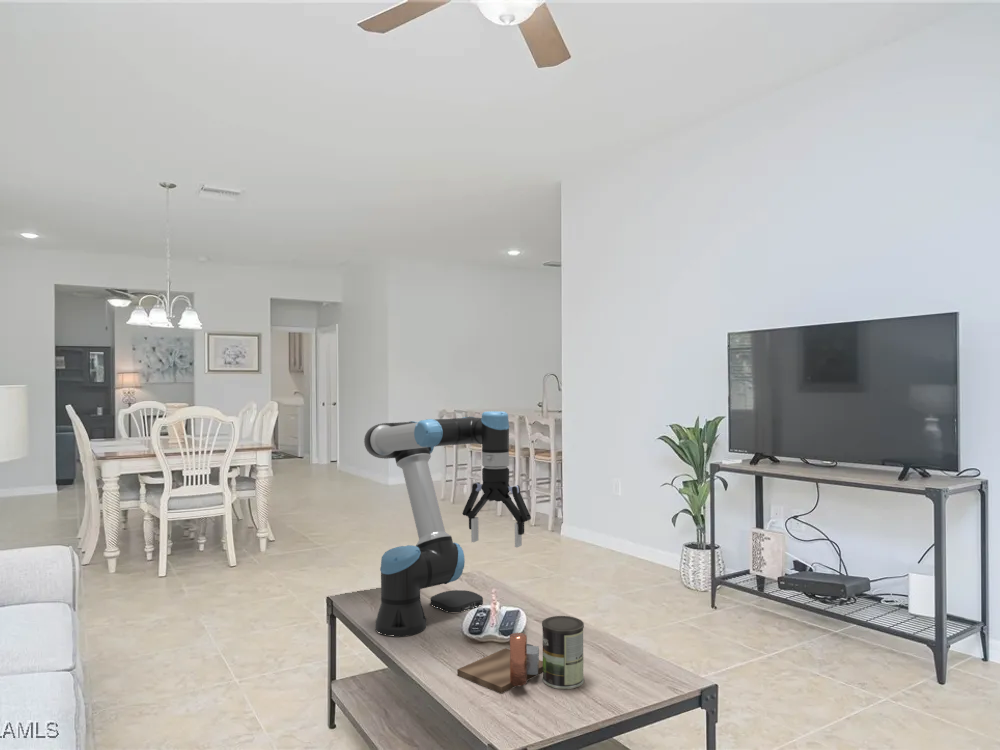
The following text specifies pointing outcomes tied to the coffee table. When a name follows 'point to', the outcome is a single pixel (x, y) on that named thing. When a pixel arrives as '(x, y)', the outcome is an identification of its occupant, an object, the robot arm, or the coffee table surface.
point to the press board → (493, 671)
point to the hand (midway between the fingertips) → (496, 543)
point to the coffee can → (563, 652)
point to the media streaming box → (456, 600)
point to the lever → (522, 659)
